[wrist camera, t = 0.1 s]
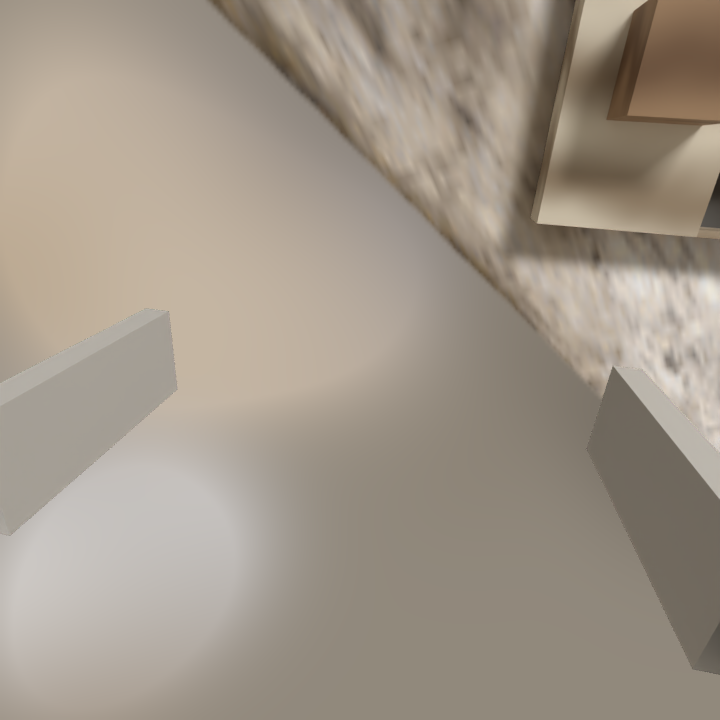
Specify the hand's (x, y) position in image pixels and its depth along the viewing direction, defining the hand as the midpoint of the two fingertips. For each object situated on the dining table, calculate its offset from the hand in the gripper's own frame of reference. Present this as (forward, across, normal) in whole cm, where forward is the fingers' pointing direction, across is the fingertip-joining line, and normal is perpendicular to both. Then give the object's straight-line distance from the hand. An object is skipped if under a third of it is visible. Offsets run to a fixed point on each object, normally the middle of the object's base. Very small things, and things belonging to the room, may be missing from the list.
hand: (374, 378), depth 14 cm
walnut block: (+25, +15, +12) cm, 31 cm away
